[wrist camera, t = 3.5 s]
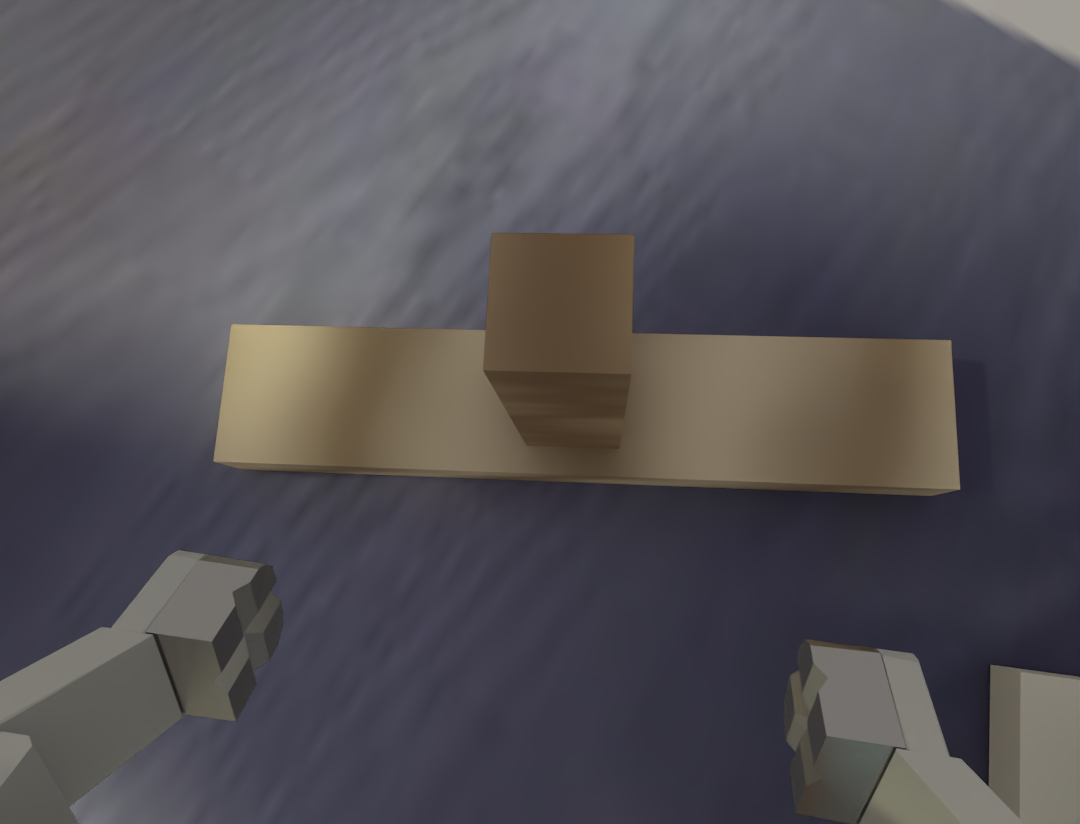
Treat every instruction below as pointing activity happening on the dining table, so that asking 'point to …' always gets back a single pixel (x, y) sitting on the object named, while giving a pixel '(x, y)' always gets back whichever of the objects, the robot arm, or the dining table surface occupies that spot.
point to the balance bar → (590, 393)
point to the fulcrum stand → (1035, 744)
